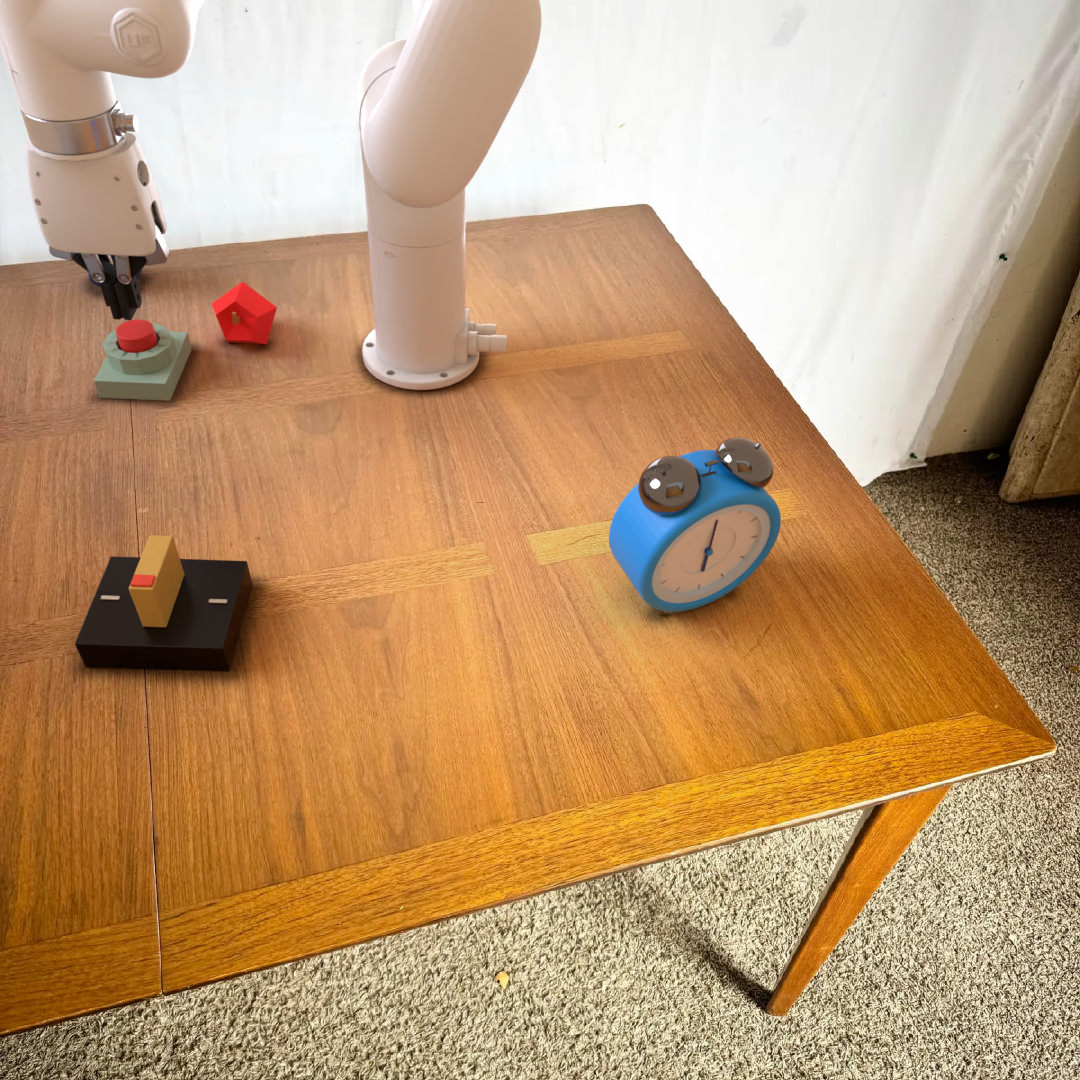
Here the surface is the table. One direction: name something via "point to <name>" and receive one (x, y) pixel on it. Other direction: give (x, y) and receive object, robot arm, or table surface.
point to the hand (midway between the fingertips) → (126, 311)
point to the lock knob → (157, 581)
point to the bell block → (143, 367)
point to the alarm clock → (697, 525)
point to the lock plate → (193, 628)
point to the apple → (244, 315)
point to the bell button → (136, 336)
